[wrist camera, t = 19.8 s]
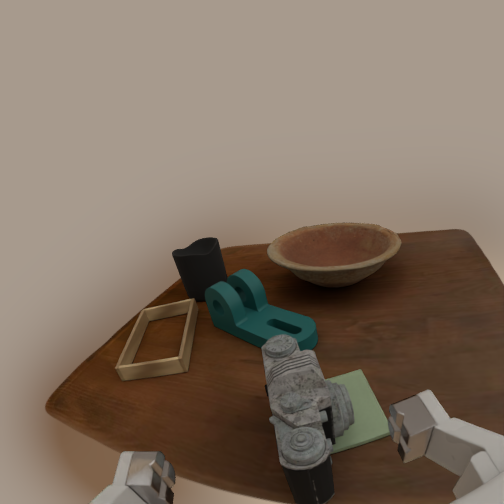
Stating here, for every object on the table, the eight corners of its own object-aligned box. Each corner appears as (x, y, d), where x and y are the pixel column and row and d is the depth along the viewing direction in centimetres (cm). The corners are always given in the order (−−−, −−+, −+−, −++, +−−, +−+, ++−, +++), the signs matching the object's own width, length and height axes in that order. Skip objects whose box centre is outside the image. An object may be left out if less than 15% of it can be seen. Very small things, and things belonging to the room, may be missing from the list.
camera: (374, 491, 19) (382, 426, 16) (293, 512, 19) (270, 457, 16) (333, 383, 33) (323, 309, 30) (274, 398, 33) (253, 327, 30)
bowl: (404, 311, 42) (403, 261, 40) (257, 313, 53) (245, 270, 50) (400, 248, 62) (397, 211, 59) (295, 255, 72) (288, 222, 70)
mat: (290, 464, 25) (289, 461, 24) (277, 395, 34) (276, 391, 34) (392, 434, 24) (392, 430, 24) (360, 372, 34) (360, 368, 34)
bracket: (214, 325, 52) (200, 284, 50) (244, 306, 56) (232, 266, 53) (295, 363, 39) (284, 312, 36) (327, 335, 42) (320, 285, 40)
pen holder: (228, 298, 60) (214, 249, 57) (182, 306, 62) (166, 260, 58) (233, 277, 69) (220, 234, 66) (192, 285, 70) (178, 243, 67)
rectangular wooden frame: (122, 381, 42) (114, 368, 41) (146, 320, 59) (142, 309, 58) (188, 371, 42) (181, 358, 41) (198, 309, 59) (194, 297, 58)
